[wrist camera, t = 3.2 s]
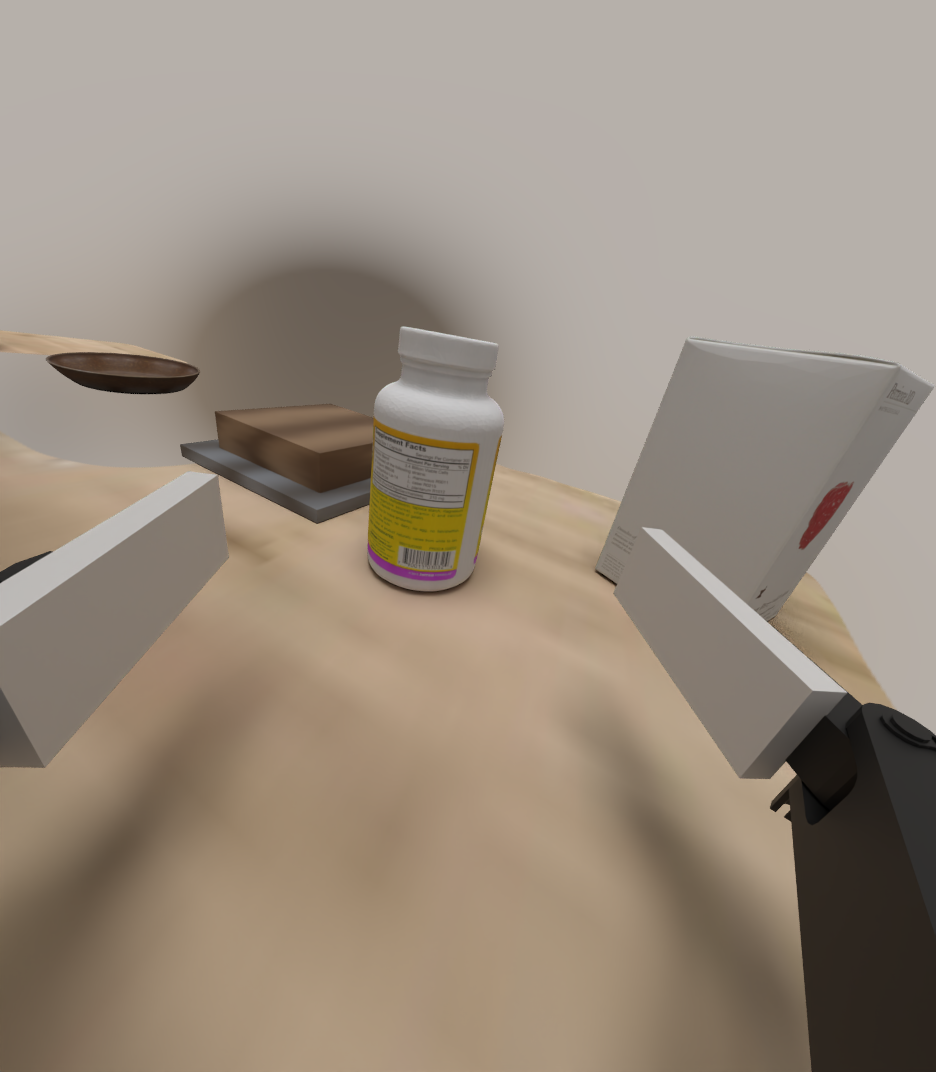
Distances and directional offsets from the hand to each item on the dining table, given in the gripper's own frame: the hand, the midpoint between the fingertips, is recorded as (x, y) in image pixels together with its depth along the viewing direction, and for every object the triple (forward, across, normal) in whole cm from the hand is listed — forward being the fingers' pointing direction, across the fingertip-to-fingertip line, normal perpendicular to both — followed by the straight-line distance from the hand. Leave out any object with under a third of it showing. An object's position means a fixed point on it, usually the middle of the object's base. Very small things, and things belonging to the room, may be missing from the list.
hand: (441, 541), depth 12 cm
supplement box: (+9, +18, -7) cm, 21 cm away
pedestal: (+25, -9, -7) cm, 27 cm away
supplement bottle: (+10, 0, -7) cm, 12 cm away
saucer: (+46, -38, -7) cm, 60 cm away
